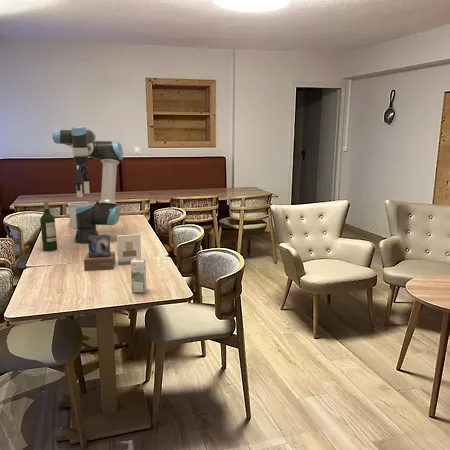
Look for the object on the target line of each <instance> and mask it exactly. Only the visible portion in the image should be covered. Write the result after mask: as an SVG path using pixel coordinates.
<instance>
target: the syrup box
mask: <svg viewBox="0 0 450 450" xmlns="http://www.w3.org/2000/svg"><path fill="white" fill-rule="evenodd" d="M146 269H147V265H146V258H145V257H141V258H133V259H132V260H131V264H130V273H131V274H130V276H131V279H130V280H131V293H132V294H145V293H146V290H147V289H148V288H147V271H146Z"/></svg>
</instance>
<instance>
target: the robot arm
mask: <svg viewBox="0 0 450 450" xmlns="http://www.w3.org/2000/svg"><path fill="white" fill-rule="evenodd" d="M96 138H97V135H96V133H95V131H93V130H92V129H87V127H86V126H85V125H84V126H83V125H82V126H81V125H78V126H76V125H74V126H72V127H71V129H55V130H53V132H52V141H53V143H55V144H58V145H65V146H67V147H70V148H72V150H71V151H72V153H73V163H74V164H77V165H75V166H74V167H75V170H74V171H75V173H74V182H73V184H74V185H75V186H76V188H75V189H76V197H77V198H83V193H84V194H90V193H91V192H90V182H91V178H90V177H91V176H90V172H89V167H88V163H89V161H90V160H89V158H90V159H94V160H100V162H101V163H102V172H101V175H102V176H101V177H102V178H101V191H100V193H101V194H100V201H99V202H98V204H97V205H95V204H94V203H89V204H86V205H81V206H78V207H77V208H76V223H77V228H76V233H75V236H74V243H76V244H88V237H89V236H90V235H100V234H99V232H98V229H97V226H114V225H117V223H118V222H119V220H120V217H121V216H120V214H121V209H120V207H119V206H118V203H116V185H117V169H118V167H117V166H118V165H119V164H120V161H121V160H123V159H124V158H123V157H124V150H123V147H122V144H121V143H120V142H119V141H116V140H100V141H99V140H97V139H96ZM82 178H83V179H82ZM82 181H83V184H82ZM83 191H84V192H83Z"/></svg>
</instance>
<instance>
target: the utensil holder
mask: <svg viewBox="0 0 450 450" xmlns="http://www.w3.org/2000/svg"><path fill="white" fill-rule="evenodd" d="M86 204H90V201H72V202H68V203H67V206H68V207H67V208H68V219H69V225H70V228H72V229H77V223H76V208H77V207H78V206H81V205H86Z"/></svg>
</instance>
